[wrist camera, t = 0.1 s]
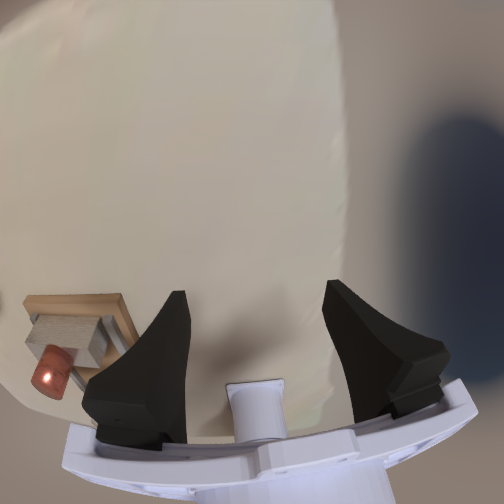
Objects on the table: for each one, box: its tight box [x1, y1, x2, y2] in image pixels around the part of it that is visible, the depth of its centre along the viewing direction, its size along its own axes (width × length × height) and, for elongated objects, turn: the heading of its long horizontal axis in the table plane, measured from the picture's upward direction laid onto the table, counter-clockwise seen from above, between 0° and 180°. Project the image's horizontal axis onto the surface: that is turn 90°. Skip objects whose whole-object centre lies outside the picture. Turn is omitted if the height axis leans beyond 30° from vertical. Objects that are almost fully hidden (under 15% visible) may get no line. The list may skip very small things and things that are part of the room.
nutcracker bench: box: [23, 293, 139, 427], centre depth 28 cm, size 24×14×6 cm, turn 2°
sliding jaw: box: [25, 315, 110, 400], centre depth 21 cm, size 4×9×9 cm, turn 92°
